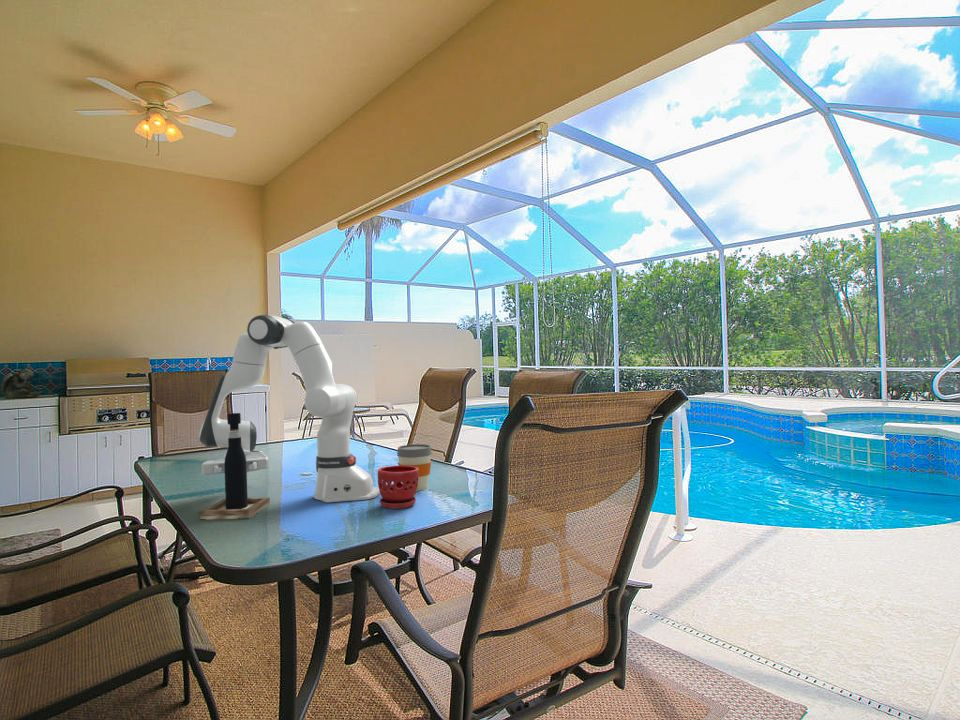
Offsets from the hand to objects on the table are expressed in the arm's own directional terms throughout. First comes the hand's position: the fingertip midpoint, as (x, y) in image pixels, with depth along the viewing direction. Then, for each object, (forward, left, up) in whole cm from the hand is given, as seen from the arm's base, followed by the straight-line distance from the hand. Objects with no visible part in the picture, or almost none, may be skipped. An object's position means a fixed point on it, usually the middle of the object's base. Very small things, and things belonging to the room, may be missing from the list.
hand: (235, 469), depth 169 cm
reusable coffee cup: (-54, -24, -13) cm, 61 cm away
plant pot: (-52, -1, -13) cm, 54 cm away
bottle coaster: (-1, +3, -13) cm, 13 cm away
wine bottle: (-1, +1, -12) cm, 12 cm away
